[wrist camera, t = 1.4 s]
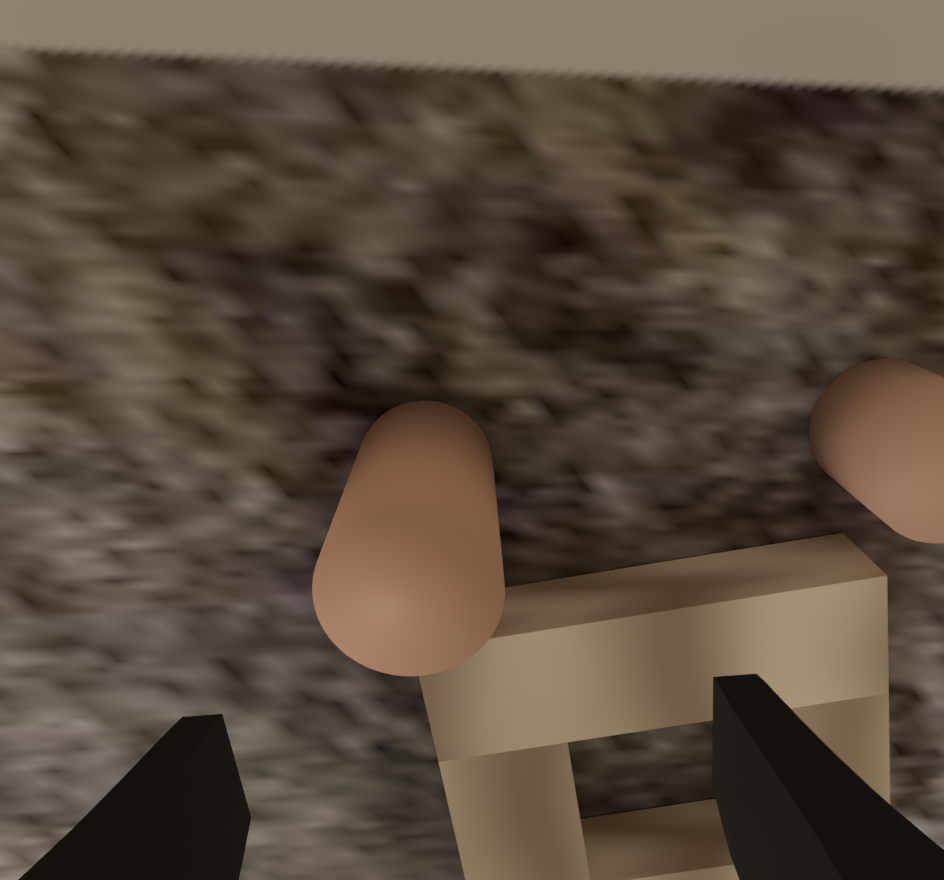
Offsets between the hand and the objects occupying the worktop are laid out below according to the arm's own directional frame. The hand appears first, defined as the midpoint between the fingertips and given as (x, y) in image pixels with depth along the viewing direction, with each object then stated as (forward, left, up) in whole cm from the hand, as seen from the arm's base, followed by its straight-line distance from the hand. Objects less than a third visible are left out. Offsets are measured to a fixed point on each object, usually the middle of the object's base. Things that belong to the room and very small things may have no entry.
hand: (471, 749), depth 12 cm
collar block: (+4, -9, -11) cm, 15 cm away
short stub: (+11, 0, -11) cm, 15 cm away
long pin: (-1, +1, -11) cm, 11 cm away
